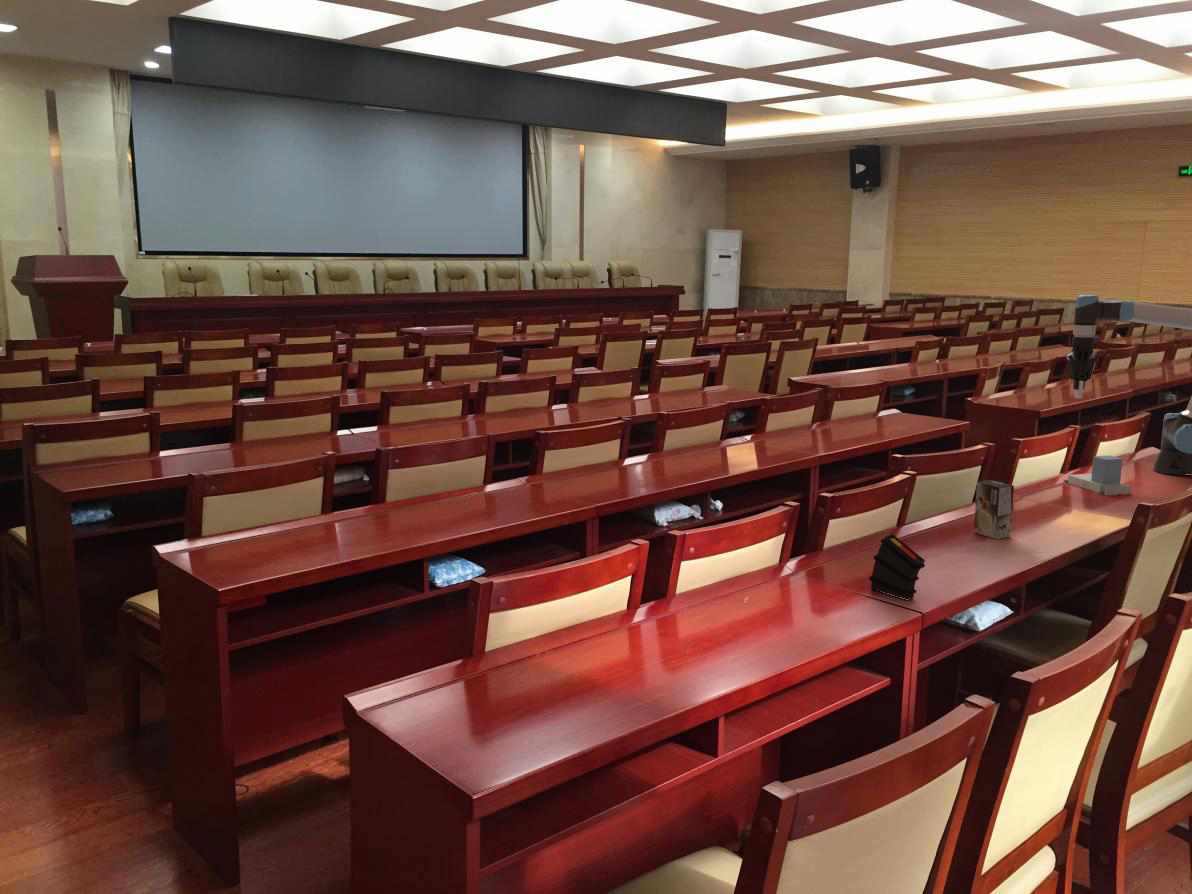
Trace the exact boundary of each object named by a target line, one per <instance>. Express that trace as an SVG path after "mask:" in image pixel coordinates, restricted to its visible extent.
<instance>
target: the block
mask: <svg viewBox="0 0 1192 894" xmlns="http://www.w3.org/2000/svg"><path fill="white" fill-rule="evenodd" d="M1122 469H1123V458H1121V457H1117V456H1114V455H1110V454H1109V455H1094V456H1093V459H1092V470H1091V474H1092V478H1091V481H1094V482H1097V483H1100V484H1119V483H1120V482H1121V479H1122V478H1121V477H1122Z"/></svg>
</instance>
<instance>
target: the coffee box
mask: <svg viewBox="0 0 1192 894" xmlns="http://www.w3.org/2000/svg"><path fill="white" fill-rule="evenodd" d="M1014 491H1015V485H1013V484H1009V483H1005V482H1002V481H999V480H998V481H997V480H993V479H987V480H981V481H976V491H975V494H976V495H975V505H974V506H975V508H974V509H975V510H974V523H973V524H974V525H973V526H974V527H973V533H975V534H978V535H982V536H985V537H987V536H988V537H987V538H991V539H993V540H999V539H1000V538H1001V539H1006V538H1005V537H1007V538H1010V537H1011V529H1012V519H1013V507H1014V506H1013V502H1014Z"/></svg>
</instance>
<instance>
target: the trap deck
mask: <svg viewBox="0 0 1192 894" xmlns="http://www.w3.org/2000/svg"><path fill="white" fill-rule="evenodd" d="M1091 478H1092V473H1081V474H1080V473H1079V474H1068V478H1067V479H1063V482H1064V481H1065V482H1064V483H1066V484H1067V483H1068V484H1071V485H1074V486H1075V487H1080V488H1083V489H1085V490H1088V491H1092V492H1095V493H1097V494H1100V495H1103V494H1104V495H1103V496H1106V495H1107V496H1119V495H1118V494H1122V495H1131V494H1132V485H1129V484H1127V485H1125V483H1124V482H1122V481H1120V483H1119V484H1100V483H1097V482H1094V481H1091Z"/></svg>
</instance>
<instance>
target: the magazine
mask: <svg viewBox="0 0 1192 894" xmlns="http://www.w3.org/2000/svg"><path fill="white" fill-rule="evenodd" d="M880 543H881V544H880V547H879V548H878V551H877V554H875V555H873V560H875V561H874V564H873V567H872V575H870V576H869V580H868V581H871V585H870V590H871V589H874V590H878V591H882V592H885V593H889V594H892V595H895V596H898V597H902V598H905V599H909V598H912V597H914V596H915V594H916V593H917V589H915V587H916V582H917V581H919V579H920V577H919V576H918V574H919V572H920V570H921V569H923V568H925V566H926V564H925V562H926V560H925V559H924V557H922V556H921V555H919V554H918V553H917V552H915V550H913V549H912V548H910V547H909V546H908V545H907V544H906V543H905V542H903V541H902V540H901V539H900V538H898V537H897V536H896V535H894V534H888V535H886V536H885V538H882V539H881V540H880ZM874 590H873V591H874ZM914 598H915V597H914Z"/></svg>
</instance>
